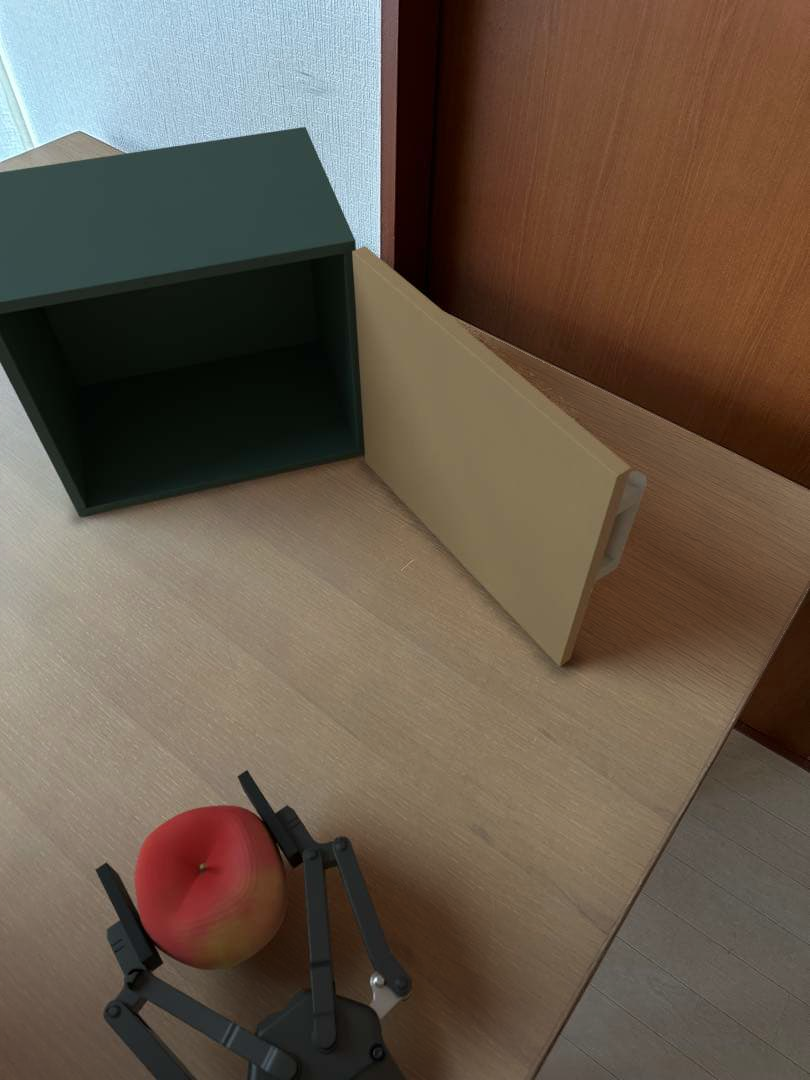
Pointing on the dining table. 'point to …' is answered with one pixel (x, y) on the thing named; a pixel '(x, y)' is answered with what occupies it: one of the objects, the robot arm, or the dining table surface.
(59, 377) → the cupboard
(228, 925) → the apple
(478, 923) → the dining table surface
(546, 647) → the cupboard door
